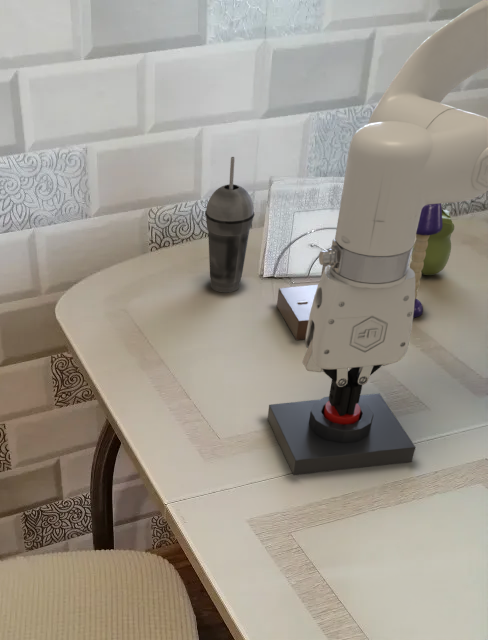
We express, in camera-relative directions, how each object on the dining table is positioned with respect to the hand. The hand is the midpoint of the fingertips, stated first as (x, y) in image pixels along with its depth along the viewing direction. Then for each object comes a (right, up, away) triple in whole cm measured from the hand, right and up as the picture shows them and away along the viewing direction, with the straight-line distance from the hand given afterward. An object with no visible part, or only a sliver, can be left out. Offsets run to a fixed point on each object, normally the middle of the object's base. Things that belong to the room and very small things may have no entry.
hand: (342, 408), depth 92 cm
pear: (+23, +25, +34) cm, 48 cm away
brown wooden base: (+5, +16, +25) cm, 30 cm away
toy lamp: (+17, +17, +26) cm, 35 cm away
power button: (0, -1, +1) cm, 2 cm away
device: (0, -3, +3) cm, 5 cm away
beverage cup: (-9, +23, +33) cm, 41 cm away
